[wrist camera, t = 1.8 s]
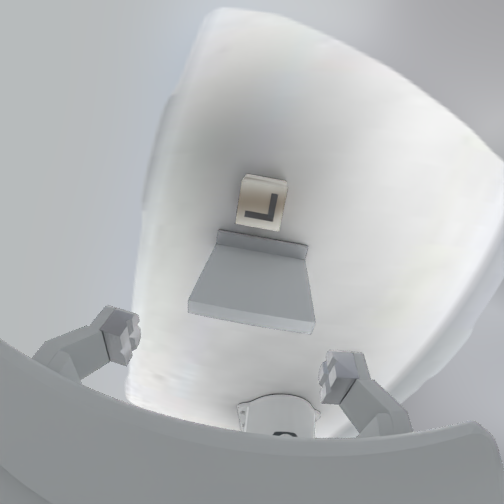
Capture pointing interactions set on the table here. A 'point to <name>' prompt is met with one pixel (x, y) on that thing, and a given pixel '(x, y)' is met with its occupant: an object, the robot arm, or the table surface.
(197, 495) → the robot arm
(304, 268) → the screen
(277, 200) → the letter cube
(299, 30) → the table surface
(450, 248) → the table surface
